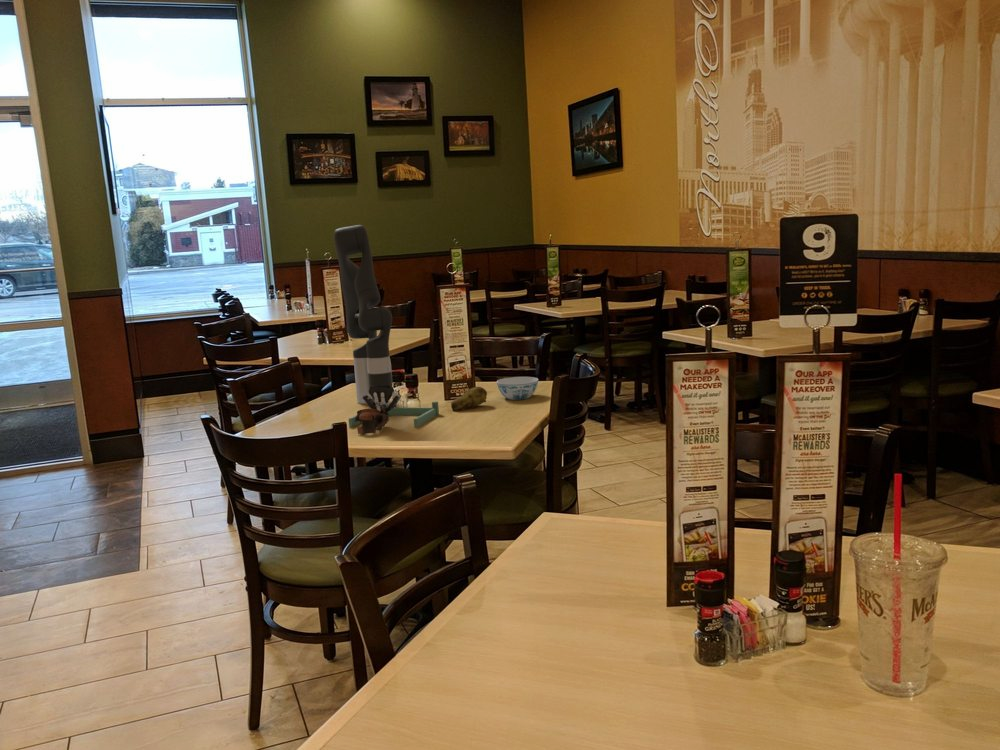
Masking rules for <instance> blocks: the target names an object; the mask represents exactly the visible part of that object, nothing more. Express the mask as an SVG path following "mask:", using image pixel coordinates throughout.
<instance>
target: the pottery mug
mask: <svg viewBox="0 0 1000 750" xmlns="http://www.w3.org/2000/svg"><path fill="white" fill-rule="evenodd" d="M356 415H357V416H356V417H355V422H356V421H360V422H361V425H360V426H358V427H357V428H356V429H357V434H358V435H360V434H361V435H362V434H376V433H377V430H378V431H380V430H383V428H384V427H385V426H386V423H387V424H388V422H387V420H388V417H387V415H386V414H384V413H380V411H379V410H377V409H370V408H364V409H358V410H357V411H356Z"/></svg>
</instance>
